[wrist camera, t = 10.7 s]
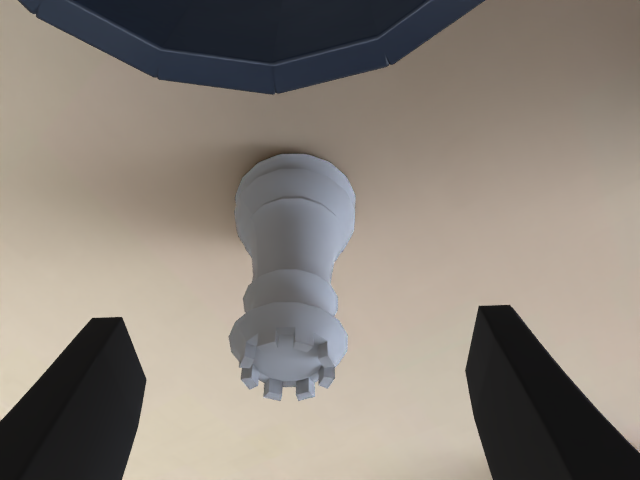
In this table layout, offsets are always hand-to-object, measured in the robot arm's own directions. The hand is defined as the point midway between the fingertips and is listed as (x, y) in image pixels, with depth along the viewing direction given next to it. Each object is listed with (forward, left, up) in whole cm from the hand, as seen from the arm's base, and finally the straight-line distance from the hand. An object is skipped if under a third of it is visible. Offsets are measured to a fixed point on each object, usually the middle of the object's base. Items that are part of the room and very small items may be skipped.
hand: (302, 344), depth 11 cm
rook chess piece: (-1, +3, -10) cm, 10 cm away
